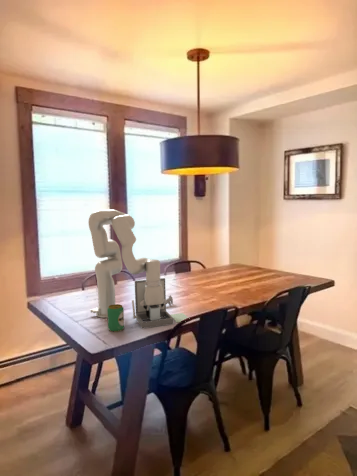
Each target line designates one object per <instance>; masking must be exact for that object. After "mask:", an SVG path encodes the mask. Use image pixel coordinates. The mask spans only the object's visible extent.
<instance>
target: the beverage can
mask: <svg viewBox="0 0 357 476" xmlns="http://www.w3.org/2000/svg"><path fill="white" fill-rule="evenodd" d="M124 310H125V309H124V306H123V304H119V303H118V304H117V303H115V304H114V305H110V306H109V307H108V309H107V311H108V318H107V327H108V330H109V331H110V332H112V331H114V332H117V333H118V332H121V331H124V329H125V317H124V316H125V315H124V314H125V313H124V312H125V311H124Z"/></svg>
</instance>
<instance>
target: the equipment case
mask: <svg viewBox="0 0 357 476" xmlns="http://www.w3.org/2000/svg"><path fill="white" fill-rule="evenodd" d="M145 281H146V279H141V280H140V279H139V280H134V297H135V298H134V299H132V300H131V304H132V313H133V314H132V318H133V319H135V320H136V321H137V323H138V324H139V326H140V328H141V329H147V328H154V327H156V328H157V327H161V326H169V325H175V320H174V318H173V317H172V316H171V314H170V313H169V311H167V304H165V305H164V306H163V307H162V309H161V314H160V319H159V320H150V319H149V318H148V317H147V316H146V309H145V308H144V307H142V306H141V305H140V303H141V301H142V300H143V299H144V289H145V285H146V284H143V282H145ZM160 285H162V288H163V297H164V299H165V300H166V299H167V297H166V277H162V278H161V277H160ZM144 305H145V306H146V304H145V303H144ZM157 306H158V305H157ZM161 318H163V319H161ZM143 320H147V321H143Z"/></svg>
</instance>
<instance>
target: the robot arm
mask: <svg viewBox="0 0 357 476" xmlns="http://www.w3.org/2000/svg"><path fill="white" fill-rule="evenodd" d="M135 222H136V221H135V219H134V218H133V217H132V216H131V215H130V214H127V213H125V212H122V211H119V210H116V209H99V210H95V211H93V212H92V213H91V214H90V216H89V217H88V223H87V224H88V228H89V232H90V234H91V239H92V245H93V246H92V247H93V250H94V254H95V257H97V258H99V259H103V260H100V261H98V262H97V263H96V264H95V266H94V272H95V276H96V281H97V283H96V284H97V297H98V299H97V300H98V306H97V307H96V308H90V310H89V311H90V313H92V314H95V315H96V317H98V318H101V319H102V318H104V319H105V318H106V319H108V311H107V309H108V307H109V306H110V305H114V304H116V289H115V288H116V287H115V286H116V285H115V280H114V278H113V276H114V275H117V274H120V273H121V271H122V270H123V264H124V266H125V267H126V269H127V271H128V272H129V273H130V274H131V275H139V274H142V273H145V280H146V281H145V282H143V284H146V285H145V289H144V299H143V300H142V301H141V303H140V305H141V306H142V307H144V308H145V309H146V316H147V317H148V318H150V311H149V307H150V305H158V307H159V308H160V314H161V309H162V307H163V306H164V305H165V304H166V303H167V301H166V300H165V299H164V297H163V288H162V285H160V278H161V262H160V260H159V259H152V258H151V259H150V258H146V257H141V258H137V259H136V257H135V255H134V253H133V246H134V244H135V243H136V241H137V237H136V236H135V234H134V231H133V230H132V229H134V228H135V224H136V223H135ZM105 225H111V226H112V229H113V231H114V233H115V235H116V236H117V239H118V240H119V242H120V245H121V249H120V245H119V244H118V242H117V241H116V240H114V239H108V233H107V230H106V229H105V227H104V226H105ZM104 258H107V259H104ZM144 303H145V304H146V306H145V305H144ZM166 305H167V304H166Z"/></svg>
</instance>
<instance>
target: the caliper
mask: <svg viewBox="0 0 357 476" xmlns="http://www.w3.org/2000/svg"><path fill="white" fill-rule="evenodd" d="M166 301H167V303H166V305H167V304H168V305H169V306H171V305H173V304H174V299H173V297H172V295H171V294H170V295H168V297H166Z"/></svg>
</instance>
